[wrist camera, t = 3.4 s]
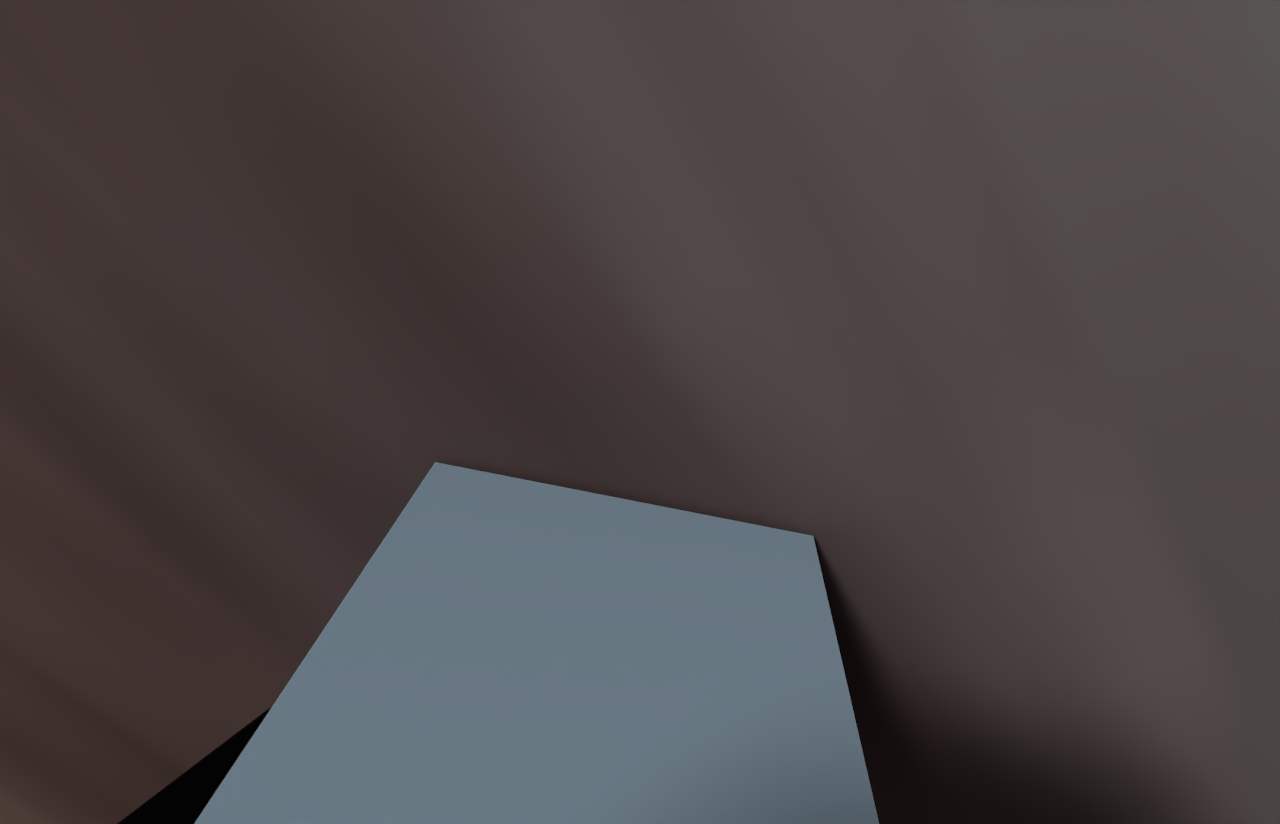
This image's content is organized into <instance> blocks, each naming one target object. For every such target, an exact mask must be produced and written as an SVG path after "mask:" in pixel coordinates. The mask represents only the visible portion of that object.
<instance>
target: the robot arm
mask: <svg viewBox="0 0 1280 824" xmlns="http://www.w3.org/2000/svg"><path fill="white" fill-rule="evenodd" d="M271 708H272V707H270V708H269V709H268V710H266V711H265V712H264V713H262V714H261V715H260V716H258V717H257V718H256V719H255V720H253V721H252V722H251V723H249V724H248V725H247V726H245V727H244V728H243V729H241V730H240V731H239V732H237V733H236V734H235V735H233V736H232V737H231V738H230V739H228V740H227V741H226V742H224V743H223V744H222V745H220V746H219V747H218V748H216V749H215V750H214V751H212V752H211V753H210V754H208V755H207V756H206V757H204V758H203V759H202V760H201V761H199V762H198V763H197V764H195V765H194V766H193V767H191V768H190V769H189V770H187V771H186V772H185V773H183V774H182V775H181V776H179V777H178V778H177V779H176V780H174V781H173V782H172V783H170V784H169V785H168V786H166V787H165V788H164V789H162V790H161V791H160V792H158V793H157V794H156V795H154V796H153V797H152V798H150V799H149V800H148V801H147V802H145V803H144V804H143V805H141V806H140V807H139V808H137V809H136V810H135V811H133V812H132V813H131V814H129V815H128V816H127V817H125V818H124V819H123V820H122V821H120V822H119V823H118V824H194V823H195V822H196V820H197V819H198V817H199V816H200V814H201V813H202V811H203V810H204V808H205V807H206V805H207V804H208V802H209V801H210V799H211V798H212V796H213V795H214V793H215V792H216V790H217V789H218V787H219V786H220V784H221V783H222V781H223V780H224V778H225V777H226V775H227V774H228V772H229V771H230V769H231V768H232V766H233V765H234V763H235V762H236V760H237V759H238V757H239V756H240V754H241V753H242V751H243V750H244V748H245V747H246V745H247V744H248V742H249V741H250V739H251V738H252V736H253V735H254V733H255V732H256V730H257V729H258V727H259V726H260V724H261V723H262V721H263V720H264V718H265V717H266V715H267V714H268V712H269V711H270V709H271Z"/></svg>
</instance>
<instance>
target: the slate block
mask: <svg viewBox="0 0 1280 824" xmlns="http://www.w3.org/2000/svg"><path fill="white" fill-rule="evenodd" d="M194 824H879V821H878V816H877V812H876V808H875V803H874V799H873V795H872V790H871V786H870V781H869V777H868V773H867V768H866V764H865V760H864V755H863V751H862V747H861V742H860V738H859V733H858V729H857V725H856V720H855V716H854V712H853V707H852V703H851V698H850V694H849V690H848V685H847V681H846V677H845V672H844V668H843V664H842V659H841V655H840V650H839V646H838V642H837V637H836V633H835V629H834V624H833V620H832V616H831V611H830V607H829V602H828V598H827V594H826V589H825V585H824V581H823V576H822V572H821V568H820V563H819V559H818V554H817V550H816V546H815V541H814V537H813V536H811V535H806V534H801V533H796V532H791V531H785V530H780V529H775V528H770V527H765V526H760V525H755V524H749V523H744V522H739V521H734V520H729V519H724V518H719V517H714V516H708V515H703V514H698V513H693V512H688V511H683V510H678V509H673V508H667V507H662V506H657V505H652V504H647V503H642V502H637V501H632V500H626V499H621V498H616V497H611V496H606V495H601V494H596V493H591V492H585V491H580V490H575V489H570V488H565V487H560V486H555V485H550V484H544V483H539V482H534V481H529V480H524V479H519V478H514V477H509V476H503V475H498V474H493V473H488V472H483V471H478V470H473V469H467V468H462V467H457V466H452V465H447V464H442V463H437V462H435V463H434V465H433V466H432V468H431V469H430V471H429V472H428V474H427V475H426V477H425V478H424V480H423V481H422V483H421V484H420V486H419V487H418V489H417V490H416V492H415V493H414V495H413V496H412V498H411V499H410V501H409V502H408V504H407V505H406V507H405V508H404V510H403V511H402V513H401V514H400V516H399V517H398V519H397V520H396V522H395V523H394V525H393V526H392V528H391V529H390V531H389V532H388V534H387V535H386V537H385V538H384V540H383V541H382V543H381V544H380V546H379V547H378V549H377V550H376V552H375V553H374V555H373V556H372V558H371V559H370V561H369V562H368V564H367V565H366V567H365V568H364V570H363V571H362V573H361V574H360V576H359V577H358V579H357V580H356V582H355V583H354V585H353V586H352V588H351V589H350V591H349V592H348V594H347V595H346V597H345V598H344V600H343V601H342V603H341V604H340V606H339V607H338V609H337V610H336V612H335V613H334V615H333V616H332V618H331V619H330V621H329V622H328V624H327V625H326V627H325V628H324V630H323V631H322V633H321V634H320V636H319V637H318V639H317V640H316V642H315V643H314V645H313V646H312V648H311V649H310V651H309V652H308V654H307V655H306V657H305V658H304V660H303V661H302V663H301V664H300V666H299V667H298V669H297V670H296V672H295V673H294V675H293V676H292V678H291V679H290V681H289V682H288V684H287V685H286V687H285V688H284V690H283V691H282V693H281V694H280V696H279V697H278V699H277V700H276V702H275V703H274V705H273V706H272V708H271V709H270V711H269V712H268V714H267V715H266V717H265V718H264V720H263V721H262V723H261V724H260V726H259V727H258V729H257V730H256V732H255V733H254V735H253V736H252V738H251V739H250V741H249V742H248V744H247V745H246V747H245V748H244V750H243V751H242V753H241V754H240V756H239V757H238V759H237V760H236V762H235V763H234V765H233V766H232V768H231V769H230V771H229V772H228V774H227V775H226V777H225V778H224V780H223V781H222V783H221V784H220V786H219V787H218V789H217V790H216V792H215V793H214V795H213V796H212V798H211V799H210V801H209V802H208V804H207V805H206V807H205V808H204V810H203V811H202V813H201V814H200V816H199V817H198V819H197V820H196V822H195V823H194Z"/></svg>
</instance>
